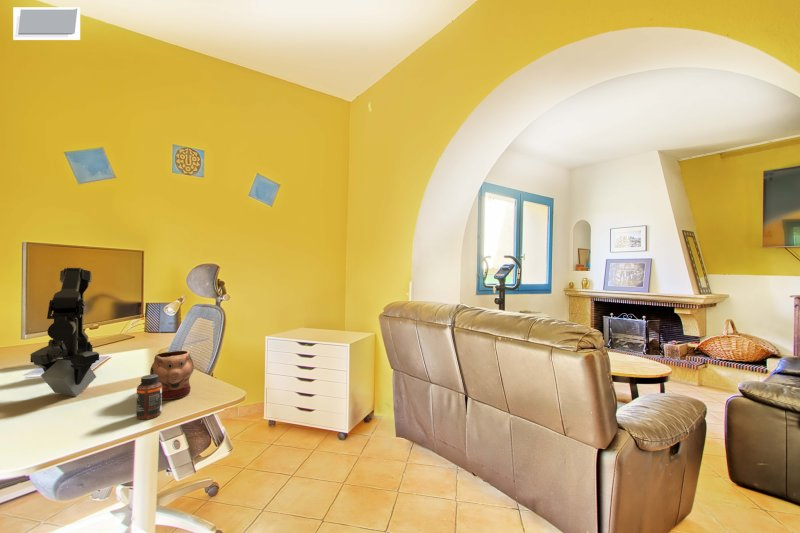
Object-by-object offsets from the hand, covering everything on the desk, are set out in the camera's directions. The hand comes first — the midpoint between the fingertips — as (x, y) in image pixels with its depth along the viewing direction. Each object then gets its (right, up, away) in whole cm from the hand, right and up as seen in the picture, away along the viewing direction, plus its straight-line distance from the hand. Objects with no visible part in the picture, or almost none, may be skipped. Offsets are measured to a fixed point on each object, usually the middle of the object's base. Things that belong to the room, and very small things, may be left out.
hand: (65, 384), depth 114 cm
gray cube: (0, -2, +4) cm, 4 cm away
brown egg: (0, -2, +5) cm, 5 cm away
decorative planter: (+31, -5, +5) cm, 32 cm away
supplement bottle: (+35, -5, -12) cm, 38 cm away
